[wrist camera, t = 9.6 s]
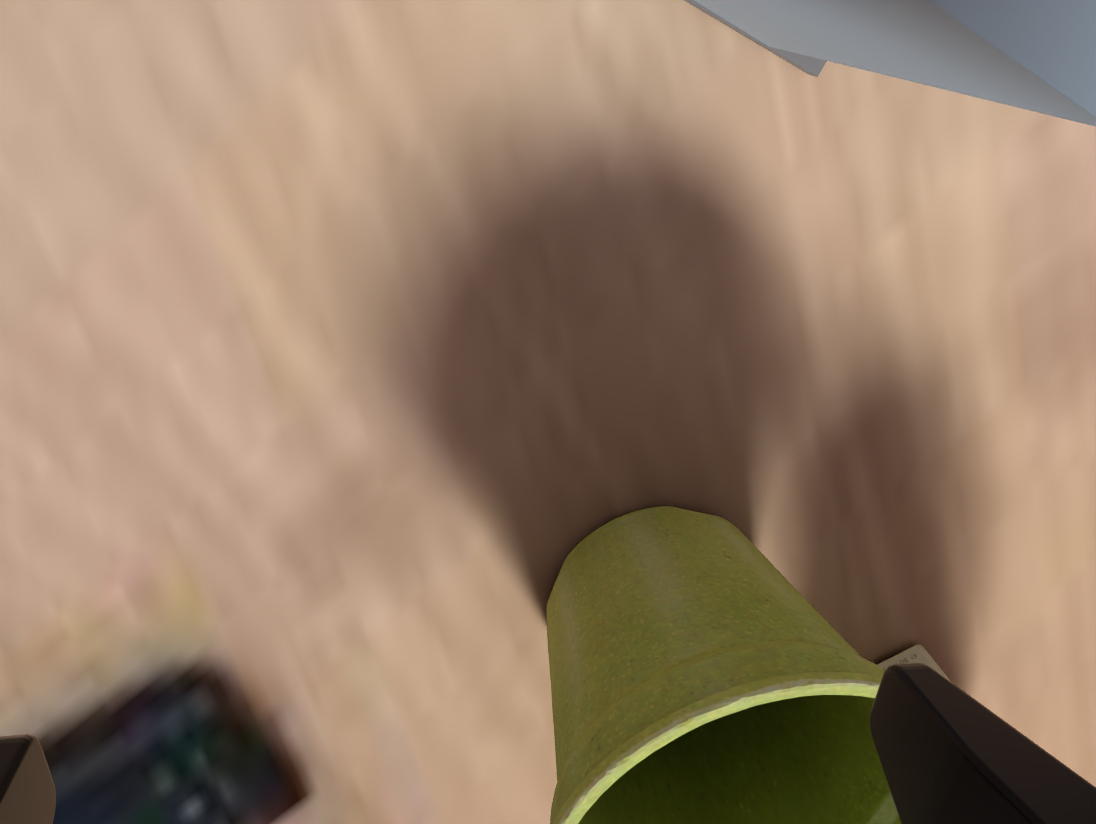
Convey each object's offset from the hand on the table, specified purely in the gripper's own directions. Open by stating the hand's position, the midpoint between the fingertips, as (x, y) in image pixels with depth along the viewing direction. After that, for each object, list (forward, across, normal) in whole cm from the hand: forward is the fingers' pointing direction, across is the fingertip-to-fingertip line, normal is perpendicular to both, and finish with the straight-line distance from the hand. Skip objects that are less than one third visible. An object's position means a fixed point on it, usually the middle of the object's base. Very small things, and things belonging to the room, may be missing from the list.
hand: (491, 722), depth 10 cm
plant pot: (+12, -6, +10) cm, 17 cm away
